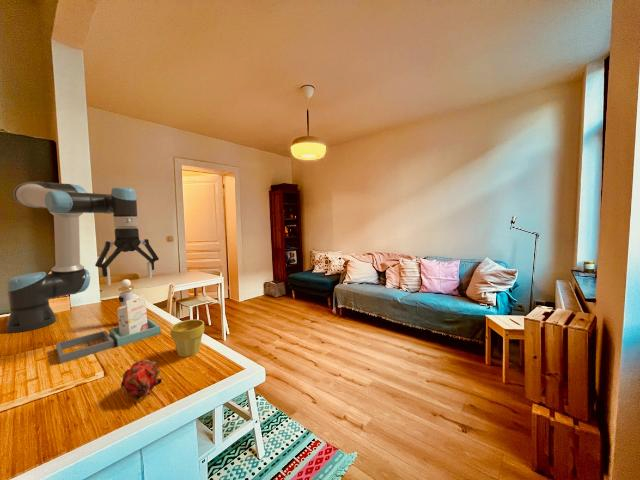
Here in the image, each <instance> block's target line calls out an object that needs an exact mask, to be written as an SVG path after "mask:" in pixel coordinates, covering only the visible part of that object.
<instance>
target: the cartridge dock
mask: <svg viewBox="0 0 640 480" xmlns="http://www.w3.org/2000/svg"><path fill="white" fill-rule="evenodd" d="M101 339H103V340H104V342H100V343H96V344H93V345H89V346H86V347H82V348H79V349H76V350H73V351H68V352H66V353H64V351H63V350H65V348H66V349H68V348H72V347H76V346H80V345H84V344H86V343H90V342H94V341H97V340H101ZM112 348H115V342H114V340H113V339H112V338H111V337H110V335H109V333H108V331H106V330H102V331H97V332H94V333H91V334H86V335H83V336H78V337H74V338H72V339H68V340H65V341H64V340H63V341H60V342H59V341H58V342H56V343H55V349H56V354H57V353H58V354H57V356H58V360H59V363H60V364H63V363H62V362H64V363H66V361H67V362H70V361H73V359H74V360H75V359H76V360H77V359H80V358H83V357H86V355H87V356H90V355H92V354H93V355H94V354H95V353H99V352H102V351H106V350H109V349H112ZM89 354H90V355H89Z"/></svg>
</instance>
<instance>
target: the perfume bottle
mask: <svg viewBox="0 0 640 480" xmlns="http://www.w3.org/2000/svg"><path fill="white" fill-rule="evenodd" d="M120 286H121V287H118V288H117V289H118V291H119V292H120V293H119V295H118V300H119V303H120V305H121V306H120V307H123V306H126V301H127V300H131V299H133V298H134V291H133V290H134V289H135V286H133V285H132V282H131V280H130V279H126V278H125V279H122V280H121V282H120ZM121 291H122V292H121ZM134 302H135V301H133V303H134Z"/></svg>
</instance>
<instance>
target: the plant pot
mask: <svg viewBox="0 0 640 480" xmlns="http://www.w3.org/2000/svg"><path fill="white" fill-rule="evenodd" d="M204 332H205V322H204V320H201V319H196V318H195V319H187V320H182V321H179V322H176V323H174V324H173V325H171V326H170V337H171V340H173V341H174V342H173V343H174V345H175V349H176V352H177V355H178V356H179V357H182V358H187V357H191V356H195V355H196V354H198V353H199V352H200V349H201V344H202V338H203V334H204Z"/></svg>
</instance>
